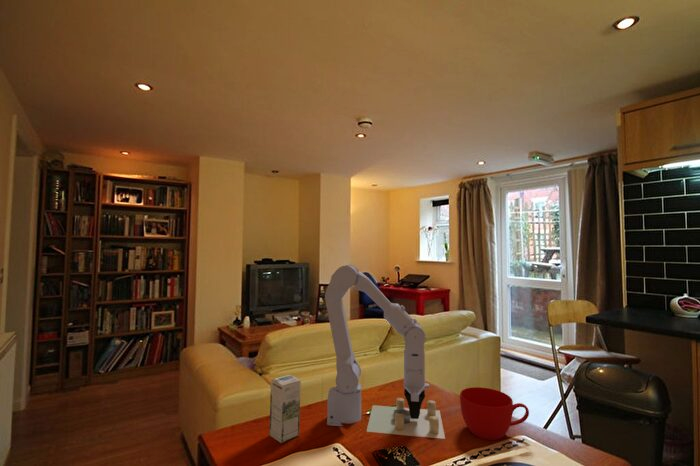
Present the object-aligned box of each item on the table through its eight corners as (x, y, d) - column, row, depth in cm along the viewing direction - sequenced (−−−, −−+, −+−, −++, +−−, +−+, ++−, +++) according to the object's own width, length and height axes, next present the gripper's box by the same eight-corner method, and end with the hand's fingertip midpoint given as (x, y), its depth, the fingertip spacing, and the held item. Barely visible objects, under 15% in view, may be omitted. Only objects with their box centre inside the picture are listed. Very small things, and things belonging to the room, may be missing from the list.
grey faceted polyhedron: (397, 425, 93) (397, 417, 93) (389, 417, 98) (389, 410, 98) (414, 422, 95) (414, 414, 95) (406, 415, 99) (406, 407, 99)
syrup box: (287, 427, 94) (288, 373, 95) (300, 436, 89) (300, 379, 90) (268, 435, 90) (269, 378, 91) (281, 444, 85) (282, 384, 86)
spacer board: (366, 435, 90) (366, 417, 90) (372, 408, 106) (372, 393, 106) (445, 442, 87) (445, 424, 87) (439, 413, 102) (439, 398, 103)
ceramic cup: (537, 454, 82) (536, 411, 82) (463, 446, 85) (463, 404, 86) (522, 427, 94) (521, 390, 95) (458, 421, 98) (457, 385, 98)
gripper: (430, 377, 89) (430, 431, 88) (427, 360, 103) (427, 407, 102) (402, 375, 90) (403, 429, 89) (403, 359, 104) (403, 405, 103)
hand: (414, 417), depth 96 cm, fingers closed, pressing on grey faceted polyhedron
